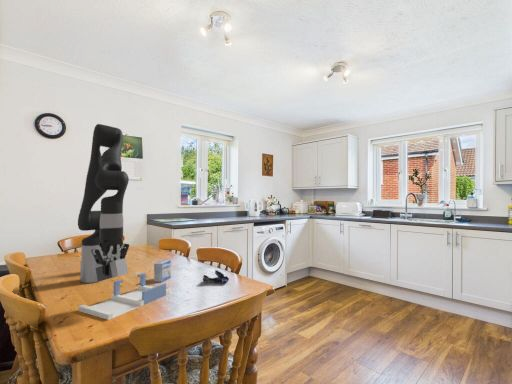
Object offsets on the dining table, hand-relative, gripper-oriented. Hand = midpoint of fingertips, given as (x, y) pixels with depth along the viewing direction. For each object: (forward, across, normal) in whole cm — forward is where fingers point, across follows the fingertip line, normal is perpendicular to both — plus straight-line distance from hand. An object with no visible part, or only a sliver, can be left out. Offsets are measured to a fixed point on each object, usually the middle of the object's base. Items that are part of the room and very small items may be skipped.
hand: (110, 273), depth 99 cm
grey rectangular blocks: (+1, 0, +1) cm, 2 cm away
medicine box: (+13, -34, -9) cm, 37 cm away
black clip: (+13, -43, +16) cm, 48 cm away
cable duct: (+12, -6, +1) cm, 14 cm away
